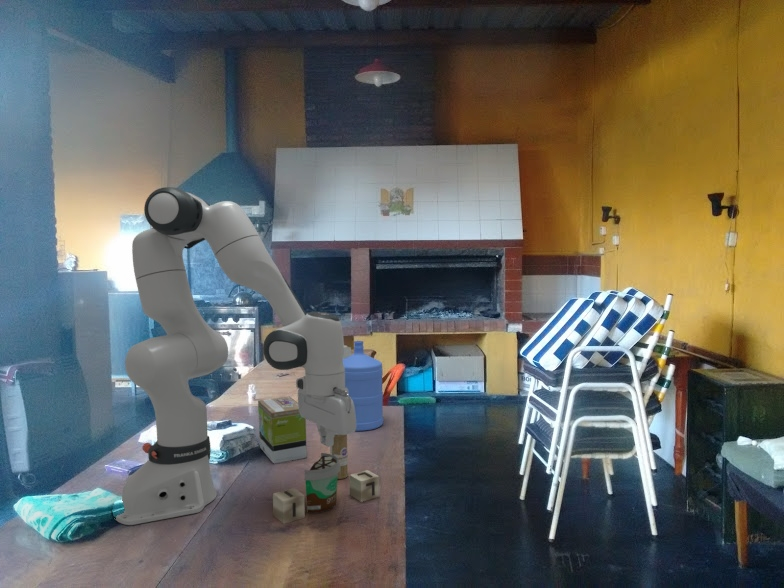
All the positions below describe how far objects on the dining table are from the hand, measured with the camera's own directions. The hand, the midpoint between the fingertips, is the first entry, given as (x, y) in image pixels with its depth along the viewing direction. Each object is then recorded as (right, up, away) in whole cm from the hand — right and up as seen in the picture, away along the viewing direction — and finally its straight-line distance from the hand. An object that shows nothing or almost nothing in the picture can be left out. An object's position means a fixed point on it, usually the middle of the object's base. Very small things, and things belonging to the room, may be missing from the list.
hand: (327, 444), depth 131 cm
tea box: (-17, -12, +36) cm, 41 cm away
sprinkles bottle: (+1, -13, +18) cm, 22 cm away
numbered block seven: (+8, -14, +6) cm, 17 cm away
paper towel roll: (-5, -8, +96) cm, 97 cm away
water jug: (+4, -10, +63) cm, 64 cm away
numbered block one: (-8, -15, -5) cm, 17 cm away
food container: (0, -14, +1) cm, 14 cm away
